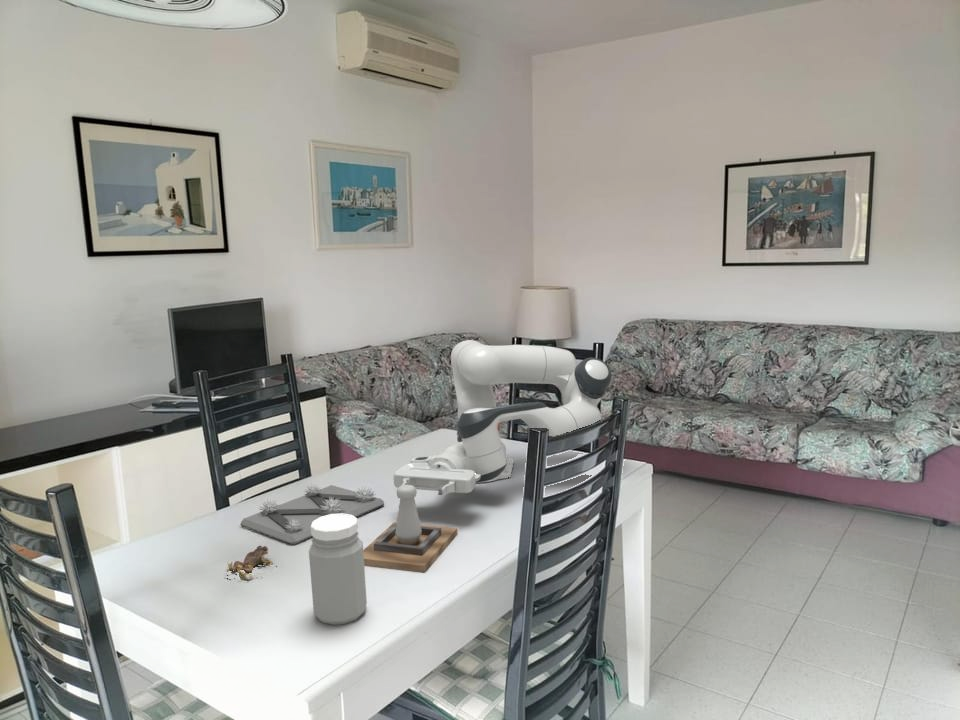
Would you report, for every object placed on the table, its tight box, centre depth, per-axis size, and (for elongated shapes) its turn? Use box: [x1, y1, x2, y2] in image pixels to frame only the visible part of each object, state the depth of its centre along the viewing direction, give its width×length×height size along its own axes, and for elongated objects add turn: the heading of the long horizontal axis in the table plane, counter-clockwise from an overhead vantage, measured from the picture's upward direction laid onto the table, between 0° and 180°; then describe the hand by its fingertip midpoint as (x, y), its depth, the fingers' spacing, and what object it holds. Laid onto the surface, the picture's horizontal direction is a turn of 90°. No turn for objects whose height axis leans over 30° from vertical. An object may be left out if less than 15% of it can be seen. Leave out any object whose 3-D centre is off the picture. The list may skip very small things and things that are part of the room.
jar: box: [308, 513, 368, 626], centre depth 130 cm, size 10×10×18 cm
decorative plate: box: [240, 483, 385, 545], centre depth 179 cm, size 30×22×7 cm
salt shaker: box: [395, 485, 422, 545], centre depth 157 cm, size 6×6×13 cm
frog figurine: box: [224, 545, 274, 583], centre depth 151 cm, size 12×12×4 cm
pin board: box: [363, 521, 458, 573], centre depth 158 cm, size 20×16×3 cm
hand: (422, 490), depth 165 cm, fingers open, 8 cm apart
